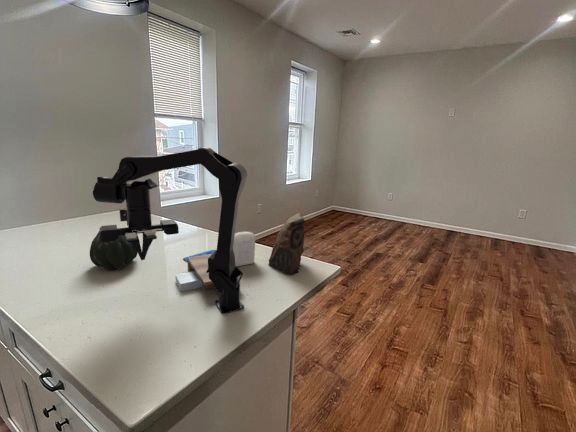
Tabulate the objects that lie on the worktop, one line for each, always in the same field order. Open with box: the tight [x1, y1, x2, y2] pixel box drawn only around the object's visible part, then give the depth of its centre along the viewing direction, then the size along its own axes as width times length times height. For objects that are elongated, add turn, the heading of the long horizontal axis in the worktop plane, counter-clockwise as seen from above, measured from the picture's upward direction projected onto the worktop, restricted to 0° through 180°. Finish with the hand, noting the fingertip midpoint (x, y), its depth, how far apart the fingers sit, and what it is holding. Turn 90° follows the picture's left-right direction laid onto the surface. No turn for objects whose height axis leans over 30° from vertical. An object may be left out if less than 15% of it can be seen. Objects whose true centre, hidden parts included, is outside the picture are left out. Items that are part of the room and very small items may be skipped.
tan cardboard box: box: [186, 254, 241, 290], centre depth 100 cm, size 20×11×5 cm, turn 31°
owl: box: [267, 211, 306, 276], centre depth 110 cm, size 13×13×20 cm
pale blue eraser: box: [174, 271, 204, 292], centre depth 99 cm, size 7×14×2 cm, turn 121°
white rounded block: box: [233, 231, 256, 267], centre depth 113 cm, size 10×4×12 cm, turn 123°
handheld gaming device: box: [182, 249, 217, 263], centre depth 118 cm, size 8×1×15 cm
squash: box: [89, 229, 138, 271], centre depth 106 cm, size 14×15×15 cm
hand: (142, 259), depth 85 cm, fingers closed
